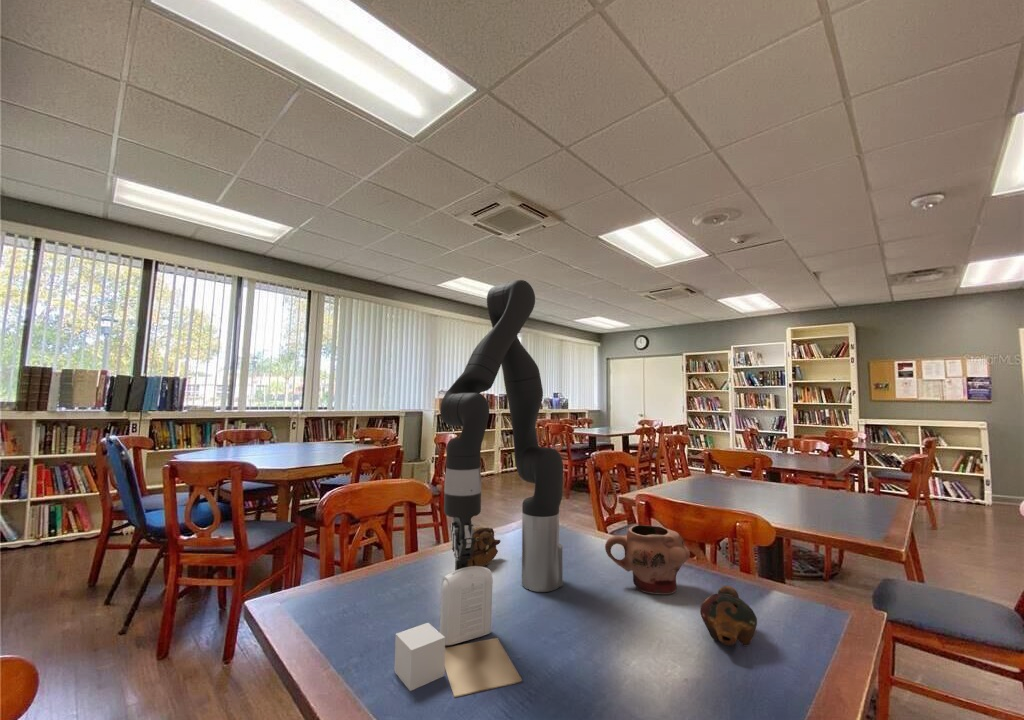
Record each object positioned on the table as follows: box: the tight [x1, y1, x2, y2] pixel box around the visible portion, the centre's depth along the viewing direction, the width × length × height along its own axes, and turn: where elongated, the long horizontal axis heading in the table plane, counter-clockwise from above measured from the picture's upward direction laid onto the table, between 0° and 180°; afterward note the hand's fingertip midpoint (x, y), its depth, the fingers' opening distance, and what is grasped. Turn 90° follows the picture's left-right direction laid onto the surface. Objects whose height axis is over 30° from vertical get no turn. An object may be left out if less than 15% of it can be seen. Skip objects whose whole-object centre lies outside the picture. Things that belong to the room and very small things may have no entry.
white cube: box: [393, 622, 446, 692], centre depth 69 cm, size 6×6×6 cm
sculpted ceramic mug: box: [604, 524, 691, 595], centre depth 103 cm, size 20×12×14 cm, turn 89°
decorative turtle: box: [699, 585, 758, 647], centre depth 80 cm, size 10×15×8 cm, turn 156°
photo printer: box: [438, 566, 494, 647], centre depth 81 cm, size 10×4×12 cm, turn 123°
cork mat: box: [444, 637, 523, 698], centre depth 71 cm, size 11×13×1 cm
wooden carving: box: [468, 526, 501, 567], centre depth 115 cm, size 16×5×10 cm, turn 148°
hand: (461, 578), depth 85 cm, fingers closed
